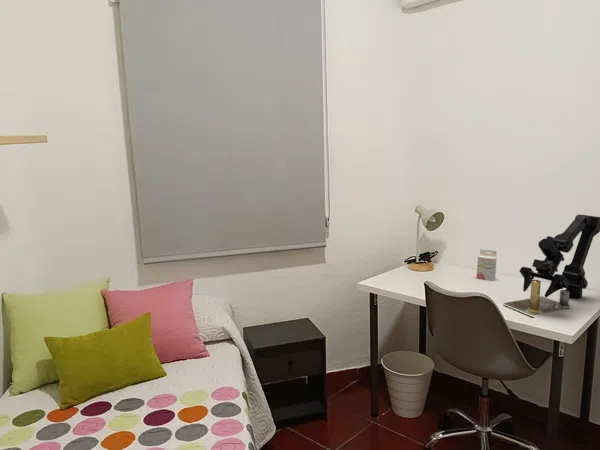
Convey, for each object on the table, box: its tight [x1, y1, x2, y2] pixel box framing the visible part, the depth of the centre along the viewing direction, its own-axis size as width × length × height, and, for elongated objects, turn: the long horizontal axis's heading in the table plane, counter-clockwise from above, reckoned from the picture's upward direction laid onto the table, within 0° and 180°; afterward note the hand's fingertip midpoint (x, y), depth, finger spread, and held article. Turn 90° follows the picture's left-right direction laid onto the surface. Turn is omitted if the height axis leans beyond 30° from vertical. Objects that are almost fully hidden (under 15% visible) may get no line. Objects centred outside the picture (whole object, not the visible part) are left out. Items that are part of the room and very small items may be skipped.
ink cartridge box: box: [476, 249, 497, 281], centre depth 251 cm, size 9×5×15 cm, turn 58°
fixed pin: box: [556, 289, 571, 310], centre depth 204 cm, size 5×5×7 cm
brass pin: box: [527, 279, 542, 315], centre depth 200 cm, size 5×5×13 cm
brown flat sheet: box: [502, 296, 573, 319], centre depth 208 cm, size 22×17×1 cm
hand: (534, 293), depth 199 cm, fingers open, 9 cm apart
